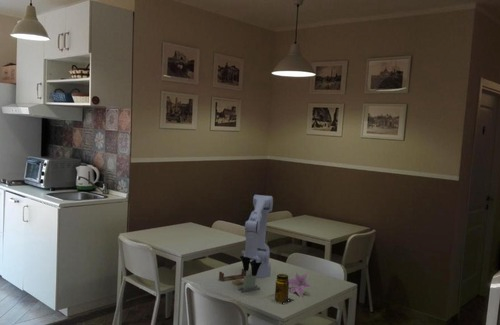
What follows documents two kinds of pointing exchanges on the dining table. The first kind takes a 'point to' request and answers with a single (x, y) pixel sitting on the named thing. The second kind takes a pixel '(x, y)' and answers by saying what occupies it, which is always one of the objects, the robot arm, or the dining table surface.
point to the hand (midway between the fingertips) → (250, 273)
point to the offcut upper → (238, 282)
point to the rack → (234, 277)
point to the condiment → (282, 289)
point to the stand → (249, 289)
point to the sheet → (249, 282)
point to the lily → (299, 283)
